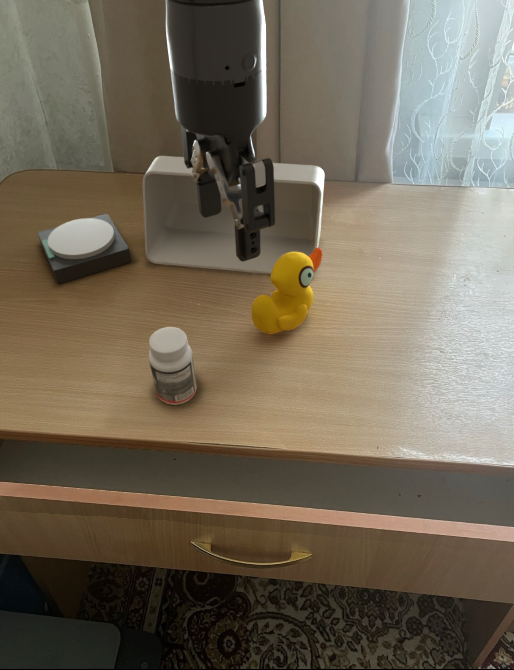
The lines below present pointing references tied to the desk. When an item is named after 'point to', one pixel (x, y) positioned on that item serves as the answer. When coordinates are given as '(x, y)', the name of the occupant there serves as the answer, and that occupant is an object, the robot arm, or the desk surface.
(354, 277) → the desk surface
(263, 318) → the duckling
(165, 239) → the tank
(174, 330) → the pill bottle
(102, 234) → the scale
